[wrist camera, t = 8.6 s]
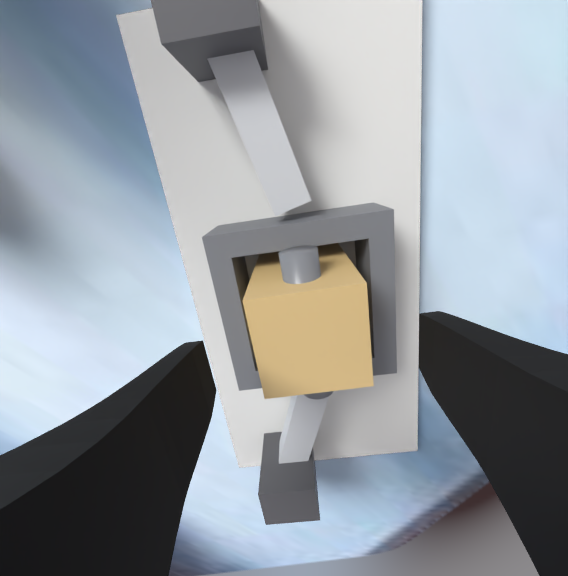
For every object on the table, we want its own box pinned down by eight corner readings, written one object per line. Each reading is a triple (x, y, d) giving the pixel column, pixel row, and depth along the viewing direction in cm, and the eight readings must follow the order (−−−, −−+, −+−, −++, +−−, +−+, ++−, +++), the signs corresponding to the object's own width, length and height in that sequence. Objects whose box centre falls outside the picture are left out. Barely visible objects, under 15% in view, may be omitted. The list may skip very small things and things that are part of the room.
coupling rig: (411, 438, 21) (447, 514, 16) (241, 455, 22) (228, 532, 17) (412, -29, 12) (489, -155, 8) (128, 26, 13) (38, -57, 8)
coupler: (346, 330, 17) (375, 407, 11) (275, 339, 17) (269, 420, 12) (335, 222, 15) (364, 252, 9) (255, 235, 15) (236, 271, 9)
